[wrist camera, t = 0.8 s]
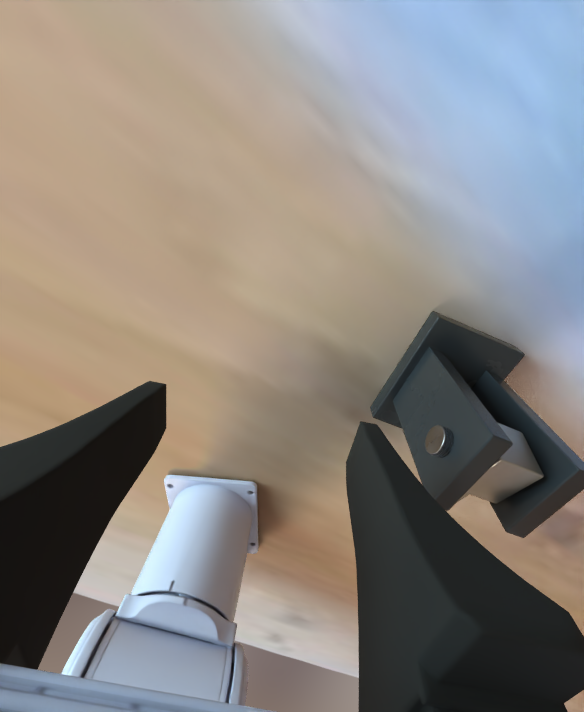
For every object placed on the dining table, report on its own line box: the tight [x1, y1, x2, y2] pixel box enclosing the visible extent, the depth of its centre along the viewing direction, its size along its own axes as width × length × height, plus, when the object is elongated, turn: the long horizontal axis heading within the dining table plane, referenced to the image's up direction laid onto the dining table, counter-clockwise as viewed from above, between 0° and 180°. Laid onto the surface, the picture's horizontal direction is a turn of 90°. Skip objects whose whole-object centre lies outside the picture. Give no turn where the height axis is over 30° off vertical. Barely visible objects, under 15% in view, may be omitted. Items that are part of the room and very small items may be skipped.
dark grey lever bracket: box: [370, 311, 584, 538], centre depth 18 cm, size 8×6×9 cm
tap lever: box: [457, 423, 544, 503], centre depth 18 cm, size 12×3×3 cm, turn 158°
